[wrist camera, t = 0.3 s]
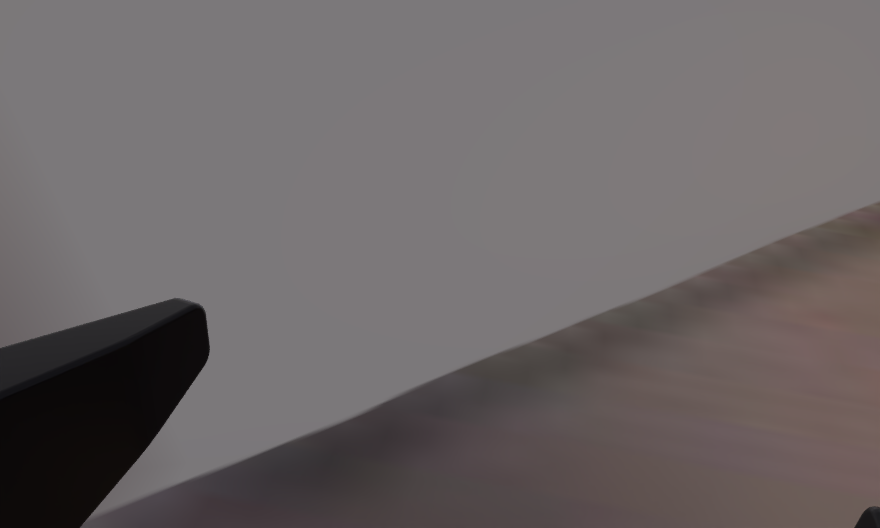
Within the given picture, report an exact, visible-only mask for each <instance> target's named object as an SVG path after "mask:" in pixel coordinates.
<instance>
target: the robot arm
mask: <svg viewBox="0 0 880 528" xmlns="http://www.w3.org/2000/svg"><path fill="white" fill-rule="evenodd" d="M209 350H210V346H209V337H208V329H207V320H206V313H205V310H204V308H203V307H202V306H201V305H200V304H198V303H195V302H191V301H188V300H185V299H180V298H174V299H171V300H167V301H164V302H160V303H156V304H153V305H149V306H146V307H142V308H139V309H136V310H132V311H128V312H125V313H121V314H118V315H114V316H111V317H107V318H104V319H100V320H97V321H94V322H90V323H86V324H83V325H79V326H76V327H73V328H69V329H66V330H62V331H58V332H55V333H51V334H48V335H44V336H41V337H37V338H34V339H30V340H27V341H23V342H20V343H16V344H13V345H9V346H6V347H2V348H0V528H80V527H81V526H82V524H83V523H84V522H85V521H86V520H87V518H88V517H89V516H90V515H91V513H92V512H93V511H94V510H95V509H96V508H97V507H98V505H99V504H100V503H101V502H102V501H103V500H104V498H105V497H106V496H107V495H108V494H109V493H110V491H111V490H112V489H113V488H114V487H115V485H116V484H117V483H118V482H119V481H120V479H121V478H122V477H123V476H124V475H125V474H126V472H127V471H128V470H129V469H130V468H131V467H132V465H133V464H134V463H135V462H136V461H137V459H138V458H139V457H140V456H141V455H142V453H143V452H144V451H145V450H146V448H147V447H148V446H149V445H150V443H151V442H152V440H153V439H154V438H155V436H156V435H157V434H158V432H159V431H160V429H161V428H162V427H163V425H164V424H165V422H166V421H167V419H168V418H169V416H170V415H171V414H172V412H173V411H174V409H175V408H176V406H177V405H178V403H179V402H180V400H181V399H182V398H183V396H184V395H185V393H186V391H187V390H188V389H189V387H190V386H191V384H192V383H193V381H194V380H195V379H196V377H197V376H198V374H199V373H200V371H201V370H202V368H203V367H204V365H205V364H206V362H207V359H208V356H209ZM855 528H880V507H869V508H868V509H866V510H865V511H864V512H863V514H862V515H861V517H860V519H859V521H858V522H857V524H856V526H855Z"/></svg>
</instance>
